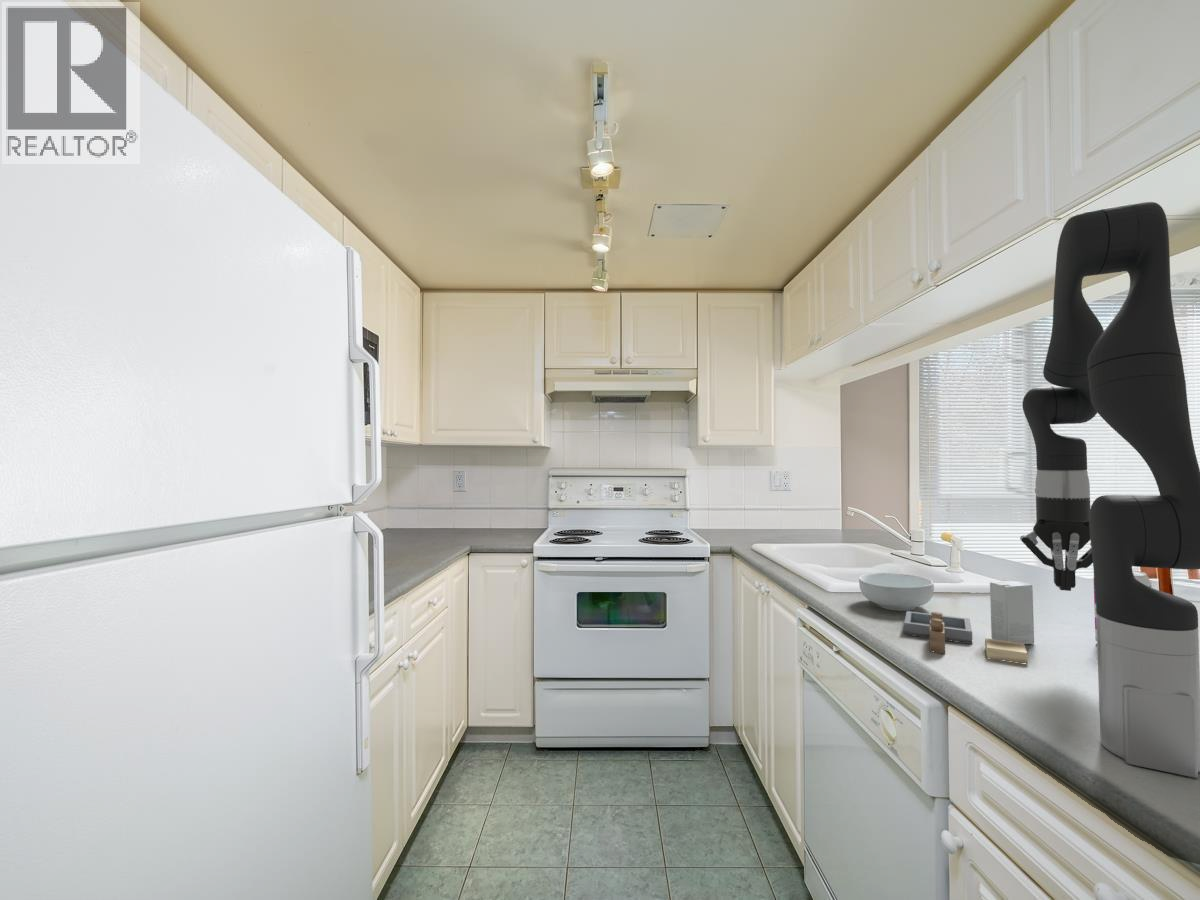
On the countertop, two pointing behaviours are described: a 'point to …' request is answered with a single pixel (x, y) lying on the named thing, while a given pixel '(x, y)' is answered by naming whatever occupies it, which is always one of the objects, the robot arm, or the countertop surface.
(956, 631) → the tray
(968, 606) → the countertop surface
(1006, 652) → the tan block
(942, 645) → the stop bar
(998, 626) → the skincare box
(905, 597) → the cereal bowl
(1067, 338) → the robot arm
